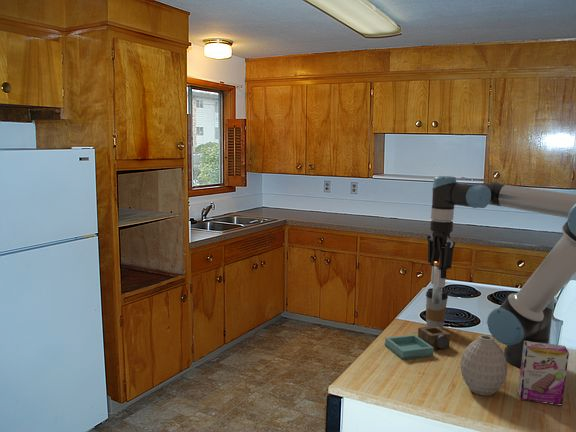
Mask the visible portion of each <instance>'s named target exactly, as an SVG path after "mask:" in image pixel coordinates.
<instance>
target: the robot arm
mask: <svg viewBox="0 0 576 432" xmlns="http://www.w3.org/2000/svg"><path fill="white" fill-rule="evenodd" d="M431 199H432V201H431V203H432V205H431V210H430V211H431V212H430V213H431V215H430V219H431V221H430V227H429V229H430V231H431V232H432V233H431V234H430V235H427V237H426V238H427V263H428V264H430V266H431V267H430V268H431V269H430V272H431V273H430V274H431V277H430V284H431V285H433V279H434V261H435V260H440V268H438V280H437V287H442V288H446V279H447V271H448V270H451V269H452V262H453V256H454V248H455V245H456V242H455V241H452V240H451V235H450V234H451V233H452V232H453V229H454V222H453V221H454V214H455V213H454V211H455V206H461V207H467V208H473V209H485V208H486V207H487V206H488V205H489V206H496V207H497V206H498V207H502V208H503V207H504V208H508V209H514V210H515V209H516V210H520V211H525V212H532V213H535V214H537V213H538V214H542V215H548V216H555V217H558V218H559V217H560V218H565V219H567V220H566V221H565V223H564V224H563V226H562V227H561V230H562V235H561V238H560V239H559V240H558V241H557V243H555V245H554V246H553V247H552V249H551V250H550V251H549V252H548V254H547V255H546V256H545V258H544V259H543V260H542V261H541V263H540V264H539V266H538V267H537V268H536V269H535V270H534V272H533V273H532V274H531V275H530V276H529V278H528V279H527V280H526V282H525V283H524V284H523V286H522V287H521V288H520V289H519V291H518V292H515V293H510V294H509V295H508V296H507V297H506V298H505V300H504V301H503V302H502V304H501V305H500V306H499V307H497V308H494V309H493V310H492V311H490V313H489V314H488V316H487V320H486V325H487V328H488V331H489V333H490V335H491V337H493V339H494V340H496V341H497V342H498V343H500V344H502V345H506V346H505V347H504V350H503V353H504V355H505V357H506V361H507V363H509V364H510V365H513V366H514V367H517V368H520V369H521V361H522V353H523V343H524V341H531V342H538V343H546V344H550V337H551V336H550V335H551V328H552V320H553V319H552V318H553V311H554V308H553V307H554V302H553V300H554V298H556V296H557V295H558V294H559V292H560V291H561V290H562V289H563V288H564V286H566V284H567V283H568V282H569V280H570V279H571V278H572V277H573V276H574V275H575V274H576V193H575V194H574V193H566V192H561V191H553V190H546V189H539V188H532V187H526V186H525V187H524V186H517V185H510V184H504V183H503V184H502V183H501V182H498V181H497V182H495V181H490V182H483V183H459V182H457V178H456V177H455V176H453V175H437V176H435V177H434V178H433V183H432V198H431Z"/></svg>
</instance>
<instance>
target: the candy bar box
mask: <svg viewBox="0 0 576 432" xmlns="http://www.w3.org/2000/svg"><path fill="white" fill-rule="evenodd" d="M569 353H570V352H569V349H568V348H567V346H566V345H560V344H553V343H549V344H546V343H538V342H531V341H524V343H523V353H522V361H521V368H520V370H519V378H518V388H517V392H518V395H519V399H520V400H521V399H522V401H527V400H530V401H529V402H534V401H539V402H538V403H540V402H547V403H553V404H562V405H563V401H564V393H565V388H566V387H565V386H566V377H567V371H568V369H567V368H568V361H569V355H570V354H569ZM547 403H546V404H547ZM553 404H552V405H553Z"/></svg>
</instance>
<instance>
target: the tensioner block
mask: <svg viewBox="0 0 576 432" xmlns="http://www.w3.org/2000/svg"><path fill="white" fill-rule="evenodd" d="M417 330H418V331H417V336H418V337H419V338H421V339H422V340H423V341H425V342H426V343H428V344H429V345H431V346H432V347H434V350H435V349H444V348H450V344H451V343H450V341H451V333H450V332H449V331H446V330H445V329H444V328H440V327H438V326H431V327H427V326H424V327H418V328H417Z"/></svg>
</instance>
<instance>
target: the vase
mask: <svg viewBox="0 0 576 432" xmlns="http://www.w3.org/2000/svg"><path fill="white" fill-rule="evenodd" d="M460 372H461V376H462V379H463V381H464V383H465V384H466V386H467V387H468V389H470V391H471V392H472V393H474V394H476V395H480V396H483V397H484V396H491V395H493V394H495V393H496V392H498V391H499V389H501V387H503V385H504V384H505V381H506V379H507V375H508V362H507V361H506V357H505V355H504V350H503V349H502V348H501V347H500V345H499V344H498V343H497V342H496V341H495V338H494V337H493V336H492V335H491V336H490V335H486V334H481V335H479V336H478V338H476V339H474V340H473V341H472V342H471V343H469V344H468V345H467V347H466V348H465V350H463V353H462V356H461V359H460Z"/></svg>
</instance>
